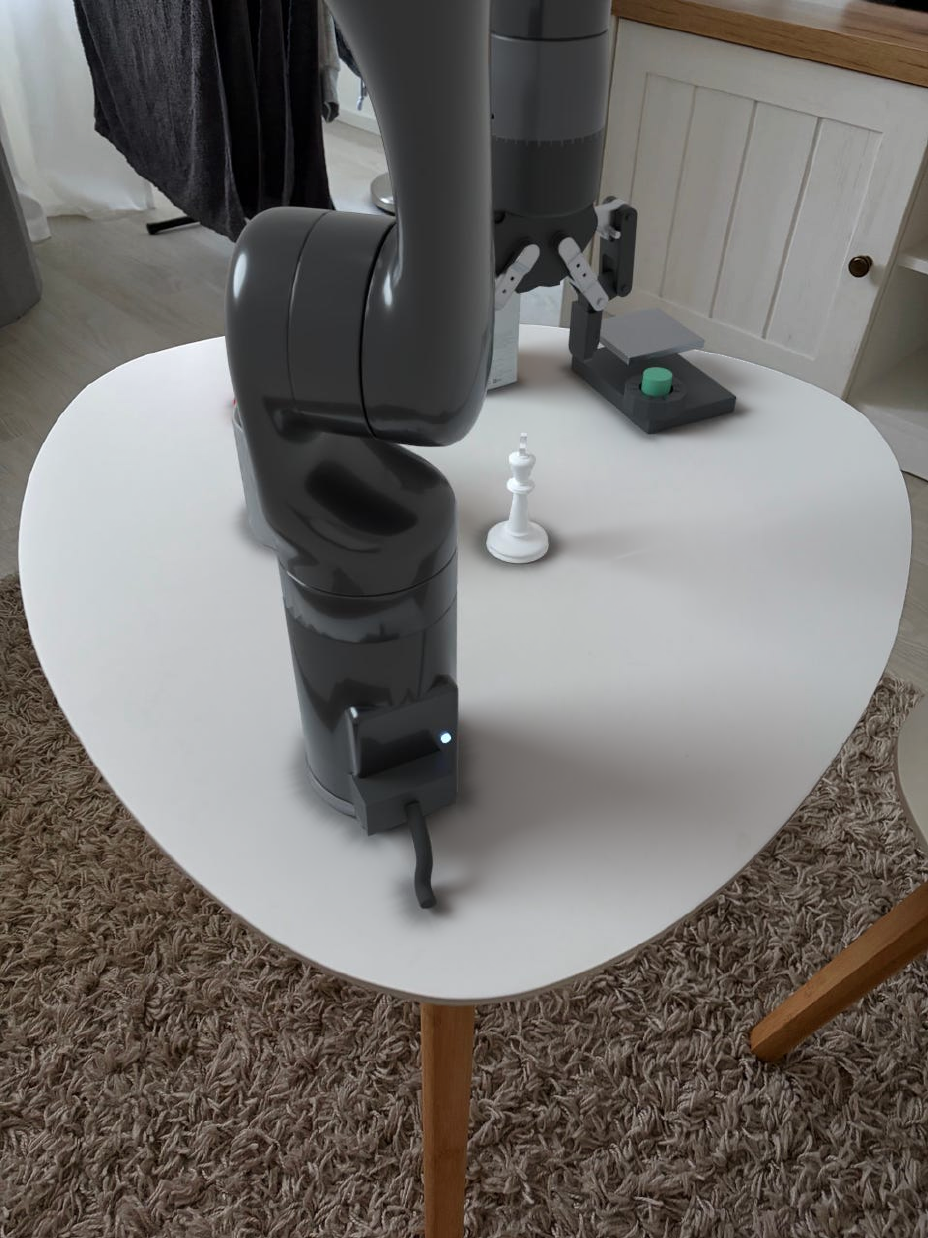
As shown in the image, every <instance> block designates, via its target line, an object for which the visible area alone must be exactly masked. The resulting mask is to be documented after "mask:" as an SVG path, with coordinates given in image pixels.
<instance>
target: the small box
mask: <svg viewBox="0 0 928 1238" xmlns="http://www.w3.org/2000/svg"><path fill="white" fill-rule="evenodd" d="M495 282H496V279H495ZM521 295H522V293H519V294H517V293H516V292H515V291H514V292H513V293H512V295H511V296H510V298H509V299H508V301H507V302H506V304H505V305H504V307H503V308H502V309H501V310H499V311H495V333H494V349H493V359H492V367H491V374H490V379H489V385H488V389H487V391H488V390H492V389H496V388H499V387H503V386H507V385H510V384H513V383H515V382H517V381H518V365H519V341H520V339H519V337H520V320H521V319H520V317H521V316H520V315H521Z"/></svg>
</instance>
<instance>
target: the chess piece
mask: <svg viewBox="0 0 928 1238" xmlns="http://www.w3.org/2000/svg"><path fill="white" fill-rule="evenodd" d="M527 435H528V433H527V432H521V433H520V436H519V438H520V440H519V449H518V450H515V451H513V452H512V453H510V455H509V456H508V463H509V466H510V468H511V472H512V476H513V477H511V478H509V479H508V481H507V482H506V488H507V490H508V491H509V492H511V493H512V494H513V497H512V502H511V508H510V512H509V518H508V519H507V520H503V521H500V522H498V523H496V524H494V525H493V526H492V527H491V528H490V529H489V531H488V533H487V537H486V548H487V550H488V551H489V553H490V554H491V555H492V556H493V557H495V558H496V559H498V560H501V561H503V562H507V563H512V564H527V563H532V562H535V561H537V560H540V559H541V558H542V557H544V556H545V555H546V553H547V552H548V551H549V550H548V549H549V546H550V544H549V536H548V533H547V532H546V530H545V528H543V527H542V526H541V525H539V524H537V523H536V522H534V521H531V520H530V519H529V508H528V494H530V493H532V492H534V490H535V489H536V484H535V481H534V480H533V479H532V478H530V476H531V473H532V470H533V468H534V467H535V465H536V462H537V457H536V456H535V455H534V453H532V452H531V451H527V440H528V439H527V438H528V436H527Z"/></svg>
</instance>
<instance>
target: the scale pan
mask: <svg viewBox="0 0 928 1238" xmlns="http://www.w3.org/2000/svg"><path fill="white" fill-rule="evenodd" d="M600 331H601V332H600V341H599V344H601V345H602V346H603V347H606V348H607V349H609V350H610V351H611V352H612V353H614V354H615V355H616V356H617V357H619V358H620V359H621V360H623V361H624V362H625V363H626V364H628V365H630V364H635V363H639V362H643V361H647V360H652V359H656V358H660V357H664V356H669V355H673V354H677V353H678V354H682V353H686V352H691V351H694V350H698V349H702V348H705V347H704V346H705V341H706V340H705V339H704V338H703V337H701V336H700V335H698V334H697V333H695V332H694V331H693V330H691V329H690V328H688V327H687V326H685V325H684V324H683V323H681V322H679V321H678V320H677V319H675V318H674V317H672V316H671V315H670V314H669V313H667V312H665V311H664V310H662V309H661V308H660V307H652V308H648V309H644V310H639V311H635V312H630V313H626V314H621V315H616V316H612V317H611V316H610V317H606V318H602V323H601V330H600Z"/></svg>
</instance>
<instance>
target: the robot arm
mask: <svg viewBox="0 0 928 1238" xmlns="http://www.w3.org/2000/svg"><path fill="white" fill-rule="evenodd" d="M322 1H323V3H324V5H325V6H326V8H327V10H328V13H329V14H330V16H331V17H332V20H333V22H334V23H335V25H336V27H337V29H338V30H339V33H340V34H341V36H342V38H343V40H344V42H345V44H346V45H347V48H348V50H349V53H350V54H351V57H352V59H353V62H354V63H355V65H356V68H357V71H358V72H359V75H360V77H361V79H362V82H363V85H364V87H365V89H366V92H367V95H368V97H369V100H370V102H371V106H372V109H373V112H374V117H375V119H376V124H377V125H378V130H379V133H380V139H381V143H382V146H383V151H384V155H385V160H386V166H387V170H388V175H389V176H388V177H389V182H390V188H391V195H392V200H393V209H394V216H391V215H384V214H383V215H382V214H374V213H373V214H372V213H366V212H365V213H363V212H357V211H356V212H354V211H345V210H334V209H326V208H317V207H305V206H289V205H286V206H285V205H284V206H275V207H274V206H273V207H271V208H268V209H265V210H262V211H260V212H259V213H257V214H256V215H254V216H253V218H251V219H250V220H249V222H247V223H246V224H245V226H244V228H243V229H242V230H241V232H240V234H239V236H238V237H237V239H236V242H235V243H234V245H233V248H232V251H231V255H230V259H229V262H228V267H227V272H226V277H225V283H224V291H223V293H224V294H223V295H224V296H223V330H224V338H225V339H224V340H225V350H226V359H227V365H228V370H229V376H230V381H231V385H232V391H233V395H234V397H235V401H236V405H237V409H238V414H239V418H240V422H241V426H242V431H243V435H244V439H245V443H246V448H247V452H248V457H249V461H250V466H251V470H252V475H253V480H254V485H255V490H256V496H257V500H258V505H259V508H260V512H261V515H262V517H263V520H264V522H265V524H266V525H267V527H268V529H269V530H270V532H271V533H272V535H273V536H274V540H275V547H276V550H275V553H276V560H277V566H278V572H279V579H280V586H281V593H282V602H283V608H284V615H285V622H286V628H287V635H288V641H289V648H290V649H289V650H290V655H291V660H292V669H293V675H294V681H295V688H296V695H297V701H298V708H299V714H300V721H301V727H302V732H303V739H304V745H305V763H306V769H307V774H308V779H309V781H310V784H311V785H312V787H313V789H314V791H315V792H316V793H317V795H318V796H319V797H320V798H321V799H322V800H323V801H324V802H325V803H327V804H328V805H329V806H331V807H332V808H334V809H336V810H337V811H339V812H342V813H344V814H346V815H348V816H352V817H354V818H356V820H357V821H358V823H359V825H360V827H361V828H362V829H363V830H365V832H366V835H367V836H368V837H371V836H373V835H376V834H378V833H381V832H384V831H386V830H389V829H393V828H394V827H397V826H399V825H402V824H405V823H407V824H408V827H409V832H410V834H411V838H412V842H413V847H414V855H415V869H414V875H413V883H414V892H415V895H416V899H417V901H418V904H419V906H420V908H421V909H422V910H428V909H431V908H433V907H435V906H436V905H437V898H436V896H435V893H434V891H433V888H432V887H433V886H432V874H433V868H434V855H433V847H432V843H431V838H430V837H431V836H430V834H429V830H428V827H427V823H426V820H425V817H424V816H425V815H429V814H430V813H434V812H436V811H439V810H441V809H444V808H447V807H449V806H452V805H454V804H456V796H457V795H459V706H460V705H459V704H460V703H459V701H460V700H459V695H460V691H459V689H460V688H459V686H458V583H459V582H458V581H459V580H458V578H459V576H458V575H459V574H458V573H459V572H458V571H459V566H458V565H459V541H458V540H459V511H458V509H459V508H458V501H457V497H456V493H455V491H454V488H453V487H452V485H451V483H450V481H449V480H448V478H447V477H446V476H445V475H444V473H443V472H442V471H441V470H440V469H439V468H438V467H436V466H435V465H434V464H433V463H432V462H430V461H429V460H427V459H426V458H425V457H423V456H421V455H420V454H418V453H416V452H415V451H412V450H411V449H408V448H406V447H405V446H411V447H420V448H421V447H422V448H445V447H449V446H452V445H453V444H456V443H459V442H460V441H462V440H463V439H465V438H466V437H467V435H469V433H470V432H471V431H472V430H473V428H474V427H475V425H476V423H477V422H478V420H479V417H480V414H481V412H482V410H483V407H484V405H485V400H486V397H487V392H488V390H487V389H488V385H489V379H490V374H491V367H492V359H493V349H494V333H495V311H499V310H501V309H502V308H503V307H504V305H505V304H506V302H507V301H508V299H509V298H510V296H511V295H512V293H513V292H514V291H515V292H516V293H517V294H519V293H521V294H524V293H528V292H531V291H532V290H534V289H537V288H540V287H541V288H553V287H558V286H561V282H562V281H563V280H565V281H566V282H567V284H568V286H569V287H570V288H571V290H572V291H573V293H574V294H575V295H576V297H577V299H576V300H573V301H571V310H570V319H569V320H570V321H569V334H568V343H567V344H568V346H567V348H568V351H569V354H570V355H571V356H572V355H573V356H574V357H575V358H576V359H578V360H579V361H580V362H585V361H590V360H592V358H593V352H594V351H596V350H597V349H598V348H599V345H600V342H599V341H600V332H601V331H600V330H601V323H602V319H603V312H604V309H606V308H607V307H608V304H609V302H610V301H611V300H613V299H615V298H616V297H620V298H625V297H628V296H629V295H630V293H632V290H633V283H634V271H635V255H636V243H637V230H638V229H637V228H638V217H639V216H638V215H639V214H638V210H637V209H636V208H634V207H633V206H632V205H630V204H629V203H628V202H626V201H624V200H623V199H621V198H618V197H616V196H615V195H608V196H607V197H605V199H604V200H603V201H602V203H601V204H600V205H594V203H595V201H596V200H597V198H598V196H599V191H600V182H601V180H600V179H601V171H602V159H603V150H604V138H605V128H606V127H605V126H606V117H607V106H608V96H609V87H610V25H611V15H612V3H613V0H322ZM595 234H597V235H599V252H598V275H597V274H596V273H595V271H594V269H593V268H592V266H591V265H590V263H589V262H588V260H587V259H586V257H585V255H584V254H583V253H584V251H585V250H586V248H587V246H588V245H589V244H590V242H591V241H592V238H593V237H594V235H595ZM495 279H496V282H495ZM403 445H404V446H403Z"/></svg>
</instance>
